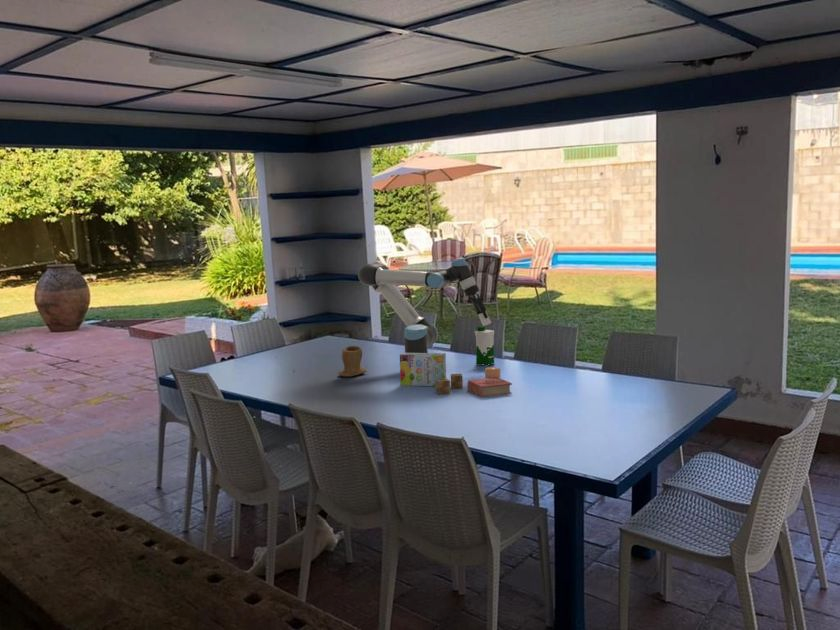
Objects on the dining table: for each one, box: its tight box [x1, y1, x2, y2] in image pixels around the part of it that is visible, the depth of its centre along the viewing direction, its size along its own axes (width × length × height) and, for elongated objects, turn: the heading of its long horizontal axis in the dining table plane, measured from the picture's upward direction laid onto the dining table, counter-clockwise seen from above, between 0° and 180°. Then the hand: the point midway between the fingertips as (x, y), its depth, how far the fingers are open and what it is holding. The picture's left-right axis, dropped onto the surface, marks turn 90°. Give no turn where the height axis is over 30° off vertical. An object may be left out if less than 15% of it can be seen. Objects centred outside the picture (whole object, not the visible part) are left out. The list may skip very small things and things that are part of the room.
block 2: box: [450, 373, 464, 390], centre depth 332 cm, size 5×5×6 cm
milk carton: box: [474, 325, 495, 366], centre depth 384 cm, size 9×9×20 cm
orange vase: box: [337, 345, 368, 378], centre depth 365 cm, size 15×12×15 cm
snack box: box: [399, 352, 447, 387], centre depth 339 cm, size 21×6×15 cm, turn 74°
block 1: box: [435, 378, 451, 396], centre depth 322 cm, size 5×5×6 cm
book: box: [467, 377, 513, 398], centre depth 322 cm, size 14×15×5 cm
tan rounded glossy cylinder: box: [484, 366, 501, 379], centre depth 334 cm, size 7×7×8 cm
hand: (487, 324), depth 369 cm, fingers open, 13 cm apart
